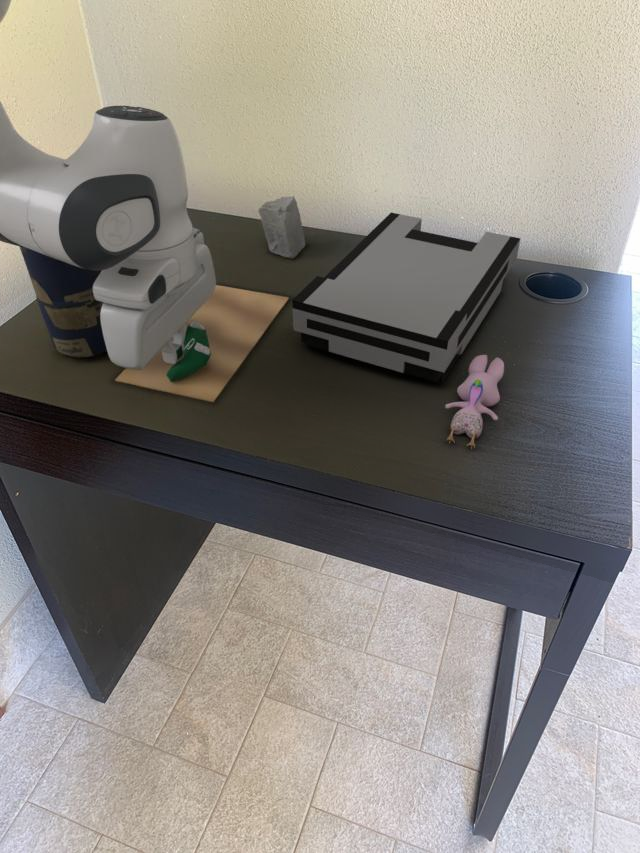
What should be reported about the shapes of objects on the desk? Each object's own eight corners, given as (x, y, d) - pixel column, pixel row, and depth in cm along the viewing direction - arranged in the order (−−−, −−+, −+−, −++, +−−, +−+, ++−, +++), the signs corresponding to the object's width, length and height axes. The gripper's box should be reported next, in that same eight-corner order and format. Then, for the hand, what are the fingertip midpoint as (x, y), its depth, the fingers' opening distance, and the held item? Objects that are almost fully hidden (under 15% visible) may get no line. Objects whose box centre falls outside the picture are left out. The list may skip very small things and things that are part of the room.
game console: (512, 280, 106) (521, 230, 100) (440, 396, 85) (448, 341, 79) (388, 252, 113) (391, 205, 108) (294, 353, 92) (292, 299, 87)
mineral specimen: (310, 232, 118) (308, 192, 111) (298, 265, 113) (295, 225, 106) (269, 227, 119) (264, 187, 112) (255, 260, 114) (250, 219, 107)
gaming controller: (188, 393, 88) (218, 362, 86) (164, 380, 86) (194, 347, 84) (181, 353, 95) (208, 323, 93) (159, 340, 93) (186, 309, 91)
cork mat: (213, 402, 84) (213, 401, 84) (115, 381, 88) (114, 379, 88) (289, 298, 103) (289, 297, 102) (205, 284, 106) (205, 283, 106)
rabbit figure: (486, 461, 78) (514, 371, 86) (492, 427, 73) (521, 336, 82) (433, 446, 80) (466, 360, 88) (435, 413, 75) (470, 326, 84)
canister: (115, 363, 91) (82, 236, 79) (44, 363, 91) (0, 237, 79) (131, 323, 98) (102, 202, 86) (65, 324, 98) (28, 203, 86)
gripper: (177, 218, 86) (190, 313, 95) (82, 294, 71) (109, 399, 80) (222, 225, 84) (232, 321, 93) (134, 304, 70) (156, 410, 79)
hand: (174, 358), depth 87 cm, fingers closed, pressing on gaming controller
